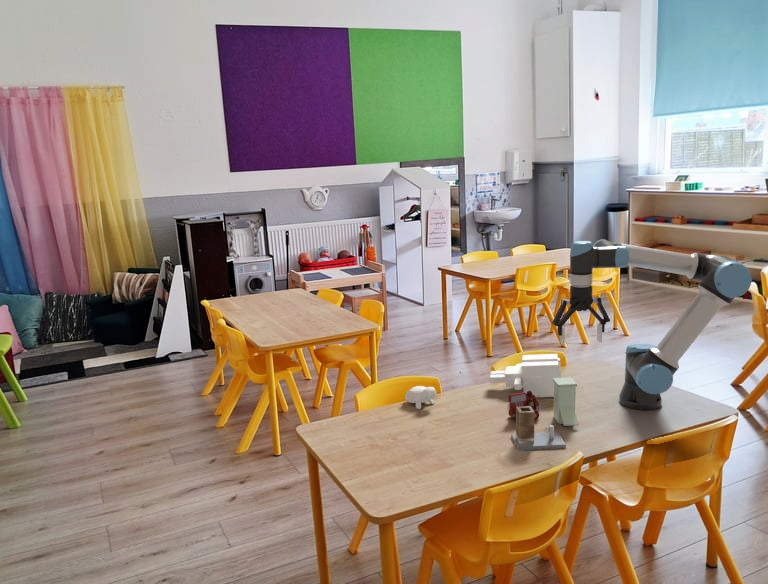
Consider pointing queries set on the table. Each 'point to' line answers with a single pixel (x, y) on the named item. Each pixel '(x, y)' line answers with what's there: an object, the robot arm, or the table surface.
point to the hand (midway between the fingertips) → (580, 342)
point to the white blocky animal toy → (421, 395)
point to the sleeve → (525, 424)
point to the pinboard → (542, 441)
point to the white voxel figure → (531, 374)
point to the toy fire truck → (523, 403)
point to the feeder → (565, 401)
